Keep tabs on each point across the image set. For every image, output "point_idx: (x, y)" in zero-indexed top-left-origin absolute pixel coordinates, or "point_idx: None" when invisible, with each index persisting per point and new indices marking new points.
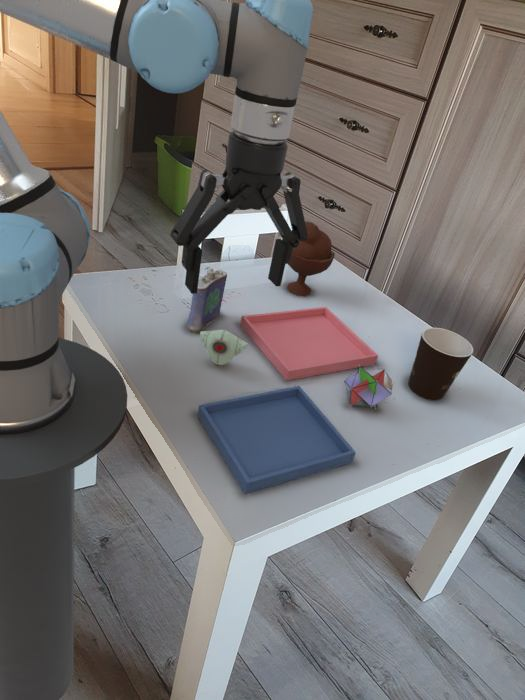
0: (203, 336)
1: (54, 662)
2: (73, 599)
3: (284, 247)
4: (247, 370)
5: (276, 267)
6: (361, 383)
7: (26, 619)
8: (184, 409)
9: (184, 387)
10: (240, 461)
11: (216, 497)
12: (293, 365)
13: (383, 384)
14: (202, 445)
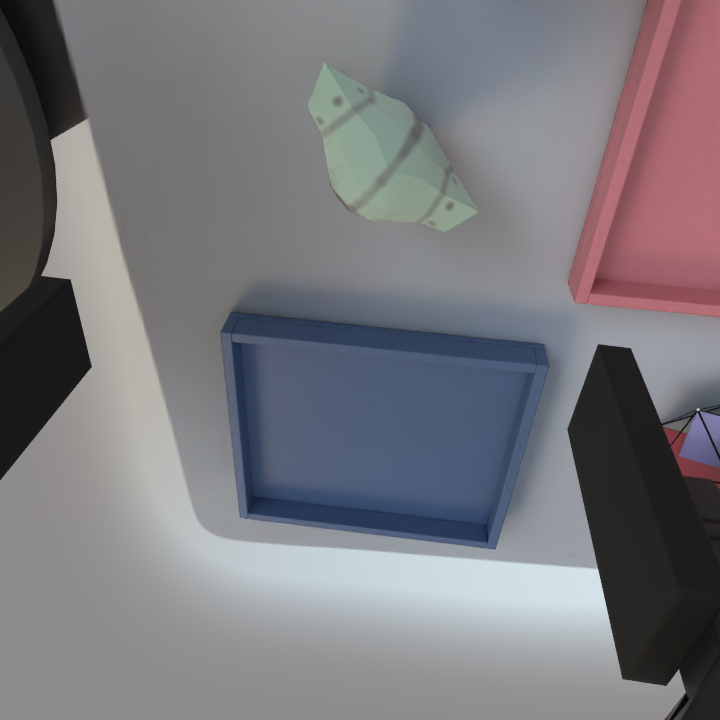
0: (314, 118)
1: None
2: None
3: (623, 668)
4: (478, 192)
5: (597, 480)
6: None
7: None
8: (205, 281)
9: (233, 201)
10: (266, 456)
11: (196, 482)
12: (652, 238)
13: None
14: (211, 388)
